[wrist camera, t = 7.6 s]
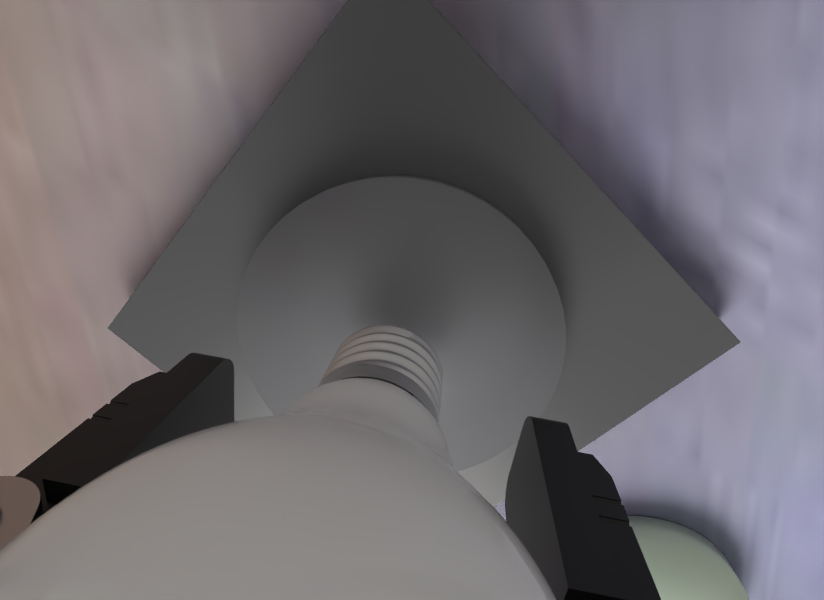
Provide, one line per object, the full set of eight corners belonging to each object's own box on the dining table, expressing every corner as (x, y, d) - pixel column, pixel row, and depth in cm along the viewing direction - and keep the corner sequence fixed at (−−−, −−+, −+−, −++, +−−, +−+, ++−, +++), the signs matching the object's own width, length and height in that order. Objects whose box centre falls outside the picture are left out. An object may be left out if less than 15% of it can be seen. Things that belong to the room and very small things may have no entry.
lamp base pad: (133, 313, 15) (87, 339, 14) (392, -33, 11) (377, -63, 9) (413, 536, 18) (406, 584, 16) (717, 323, 13) (758, 356, 12)
